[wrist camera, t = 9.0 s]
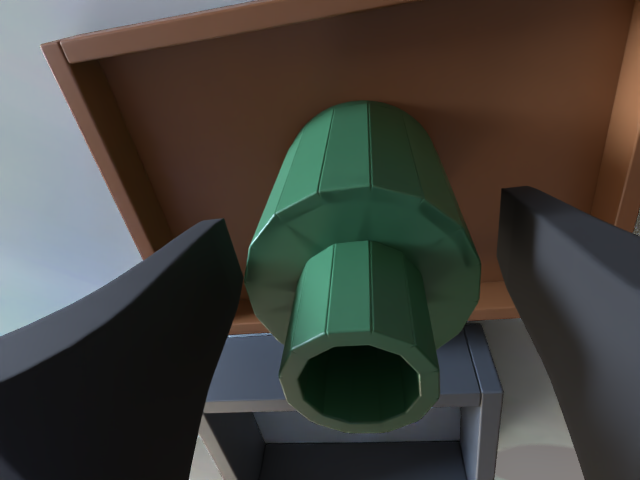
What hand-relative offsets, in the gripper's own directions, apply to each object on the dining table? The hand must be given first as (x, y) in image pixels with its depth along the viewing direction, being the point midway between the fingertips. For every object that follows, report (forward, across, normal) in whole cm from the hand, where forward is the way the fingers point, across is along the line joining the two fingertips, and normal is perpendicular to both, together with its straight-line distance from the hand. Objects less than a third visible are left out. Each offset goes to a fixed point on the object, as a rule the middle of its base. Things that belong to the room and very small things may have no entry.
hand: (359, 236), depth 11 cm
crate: (+4, +2, +12) cm, 13 cm away
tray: (+4, 0, 0) cm, 4 cm away
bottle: (+4, 0, 0) cm, 4 cm away
